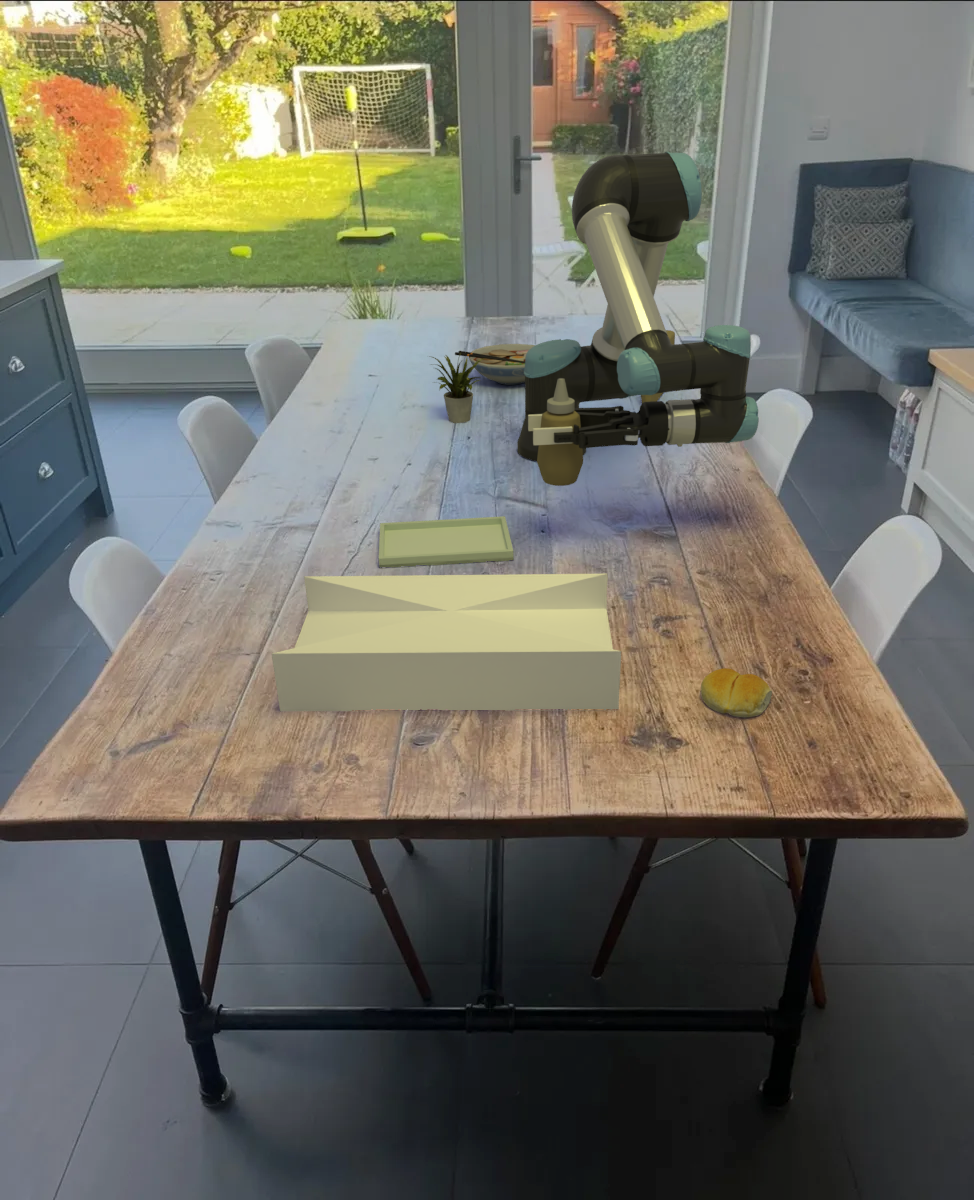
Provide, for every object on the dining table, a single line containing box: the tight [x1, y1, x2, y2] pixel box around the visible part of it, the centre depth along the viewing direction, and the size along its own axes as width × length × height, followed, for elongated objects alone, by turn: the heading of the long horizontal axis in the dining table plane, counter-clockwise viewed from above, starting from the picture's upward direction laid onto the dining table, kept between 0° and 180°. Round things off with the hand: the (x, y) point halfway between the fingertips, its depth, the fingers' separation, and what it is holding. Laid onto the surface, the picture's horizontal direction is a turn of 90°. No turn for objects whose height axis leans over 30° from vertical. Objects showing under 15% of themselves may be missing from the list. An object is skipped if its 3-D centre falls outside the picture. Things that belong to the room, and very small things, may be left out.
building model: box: [271, 573, 622, 712], centre depth 140 cm, size 45×22×10 cm, turn 88°
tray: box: [378, 515, 515, 568], centre depth 177 cm, size 23×15×2 cm, turn 95°
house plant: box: [428, 353, 484, 424], centre depth 236 cm, size 14×14×16 cm
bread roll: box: [700, 667, 773, 718], centre depth 132 cm, size 8×9×4 cm
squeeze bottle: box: [536, 378, 584, 487], centre depth 169 cm, size 8×8×18 cm
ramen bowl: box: [454, 343, 536, 386], centre depth 266 cm, size 25×23×8 cm
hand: (531, 429), depth 169 cm, fingers closed on squeeze bottle, 6 cm apart
